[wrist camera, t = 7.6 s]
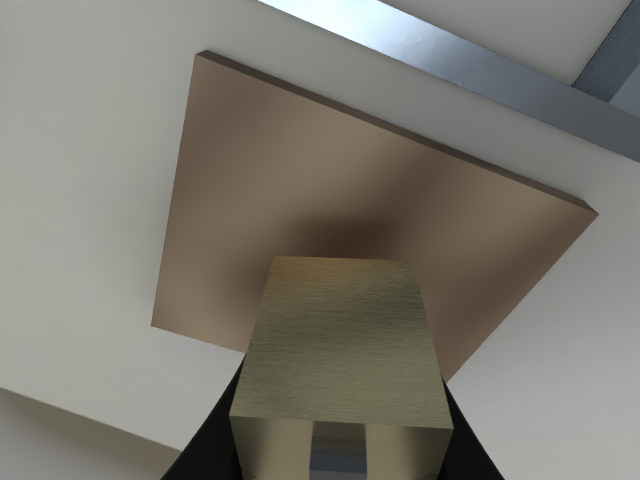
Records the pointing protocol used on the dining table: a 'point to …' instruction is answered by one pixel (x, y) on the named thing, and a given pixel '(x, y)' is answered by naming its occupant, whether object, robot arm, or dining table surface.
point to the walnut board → (343, 212)
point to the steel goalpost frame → (504, 68)
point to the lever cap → (341, 376)
